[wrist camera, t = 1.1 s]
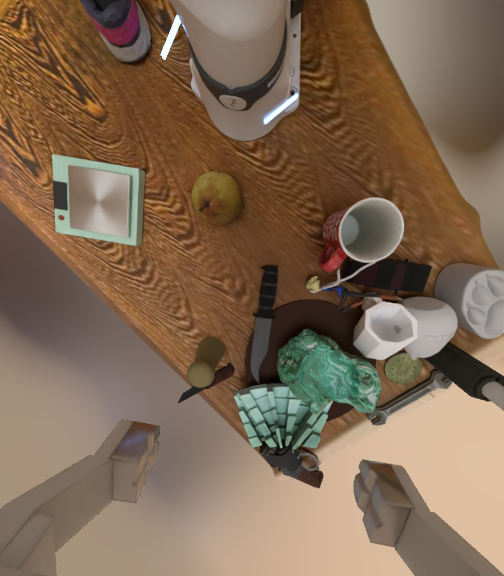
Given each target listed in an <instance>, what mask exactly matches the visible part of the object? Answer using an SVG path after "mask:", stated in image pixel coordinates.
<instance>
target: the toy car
mask: <svg viewBox="0 0 504 576" xmlns="http://www.w3.org/2000/svg"><path fill="white" fill-rule="evenodd" d="M367 264H369V263H365V262H359V261H356V260H354V259H352V258H351V257H349V256H348V257H347V261H346V265H345V269H344V272H343V276H342V279H344V278H346V277H348V276H350V275H352V274H353V273H355V272H356V271H357V270H358V269H360V268H361V267H363V266H365V265H367ZM431 268H432V266H429V265H423V264H418V263H414V262H409V261H408V259H405V262H403V261H397V260H390V259H382V260H380V261H377V262H376V263H375V264H372V265H370V266H368V267H366V268H364V269H363V270H361V271H360V272H359V273H357V274H356V275H355V276H353V277H352V278H350V279H348V280H345V281H346V282H350V283H355V284H360V285H364V286H369V287H374V288H380V289H386V290H395V294H397V292H398V290H403V291H409V292H423V290H424V287H425V284H426V281H427V279H428V276H429V273H430V271H431Z"/></svg>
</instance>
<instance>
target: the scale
mask: <svg viewBox="0 0 504 576" xmlns="http://www.w3.org/2000/svg"><path fill="white" fill-rule="evenodd" d="M52 160H53V192H54V209H55V225H56V232H57V233H63V234H69V235H75V236H81V237H87V238H93V239H98V240H104V241H110V242H116V243H122V244H128V245H134V246H138V245H142V230H143V208H144V185H145V171H142V170H140V169H137V168H131V167H125V166H119V165H113V164H107V163H102V162H96V161H90V160H84V159H78V158H72V157H66V156H61V155H55V154H52ZM68 165H72V166H78V167H84V168H90V169H96V170H101V171H107V172H113V173H119V174H125V175H130V176H131V183H130V215H129V238H126V237H120V236H114V235H108V234H102V233H97V232H91V231H85V230H79V229H73V228H70V212H69V180H68Z"/></svg>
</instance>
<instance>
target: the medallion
mask: <svg viewBox="0 0 504 576" xmlns="http://www.w3.org/2000/svg"><path fill="white" fill-rule="evenodd" d="M421 369H422V363H421V361H420V359H419V357H418V358H417V359H415V360H412V359H411V358H410V357H409V355H408V353H407V352H400V353H397V354H395V355H393V356H391V357H390V358H388V360H387V361H386V363H385V365H384V373H385V375H386V377H387V378H388V379H389V380H390V381H392V382H394V383H396V384H407V383H409V382H411V381H413V380H414V379H415V378H416V377H417V376H418V374H419V373H420V371H421Z"/></svg>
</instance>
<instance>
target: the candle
mask: <svg viewBox="0 0 504 576" xmlns="http://www.w3.org/2000/svg"><path fill="white" fill-rule="evenodd" d="M424 359H426V360H427V361H428V362H429V363H430V364H432V365H433V366H434V367H435V368H437V369H438V370H439V371H440V372H441V373H443V374H444V375H445V376H446V377H447V378H449V379H450V380H451V381H452V382H454V383H455V384H456V385H457V386H458V387H460V388H461V389H462V390H463V391H464V392H466V393H467V394H468V395H469V396H471V397H474V398H478V399H481V400H485V401H492V402H493V403H495V404H496V405H497V406H499V407H500V408H501V409H502V410H504V376H503V375H501V374H499V373H498V372H496V371H495V370H493V369H491V368H490V367H488V366H487V365H485V364H484V363H482V362H480V361H479V360H477V359H476V358H474V357H472V356H471V355H469V354H468V353H466V352H464V351H463V350H461V349H460V348H458V347H456V346H455V345H453V344H451V343H450V342H448V343H447V344H446V345H445V346H444V347H443V348H442V349H441V350H440V352H438V353H436V354H434V355H432V356H430V357H426V358H424Z"/></svg>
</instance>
